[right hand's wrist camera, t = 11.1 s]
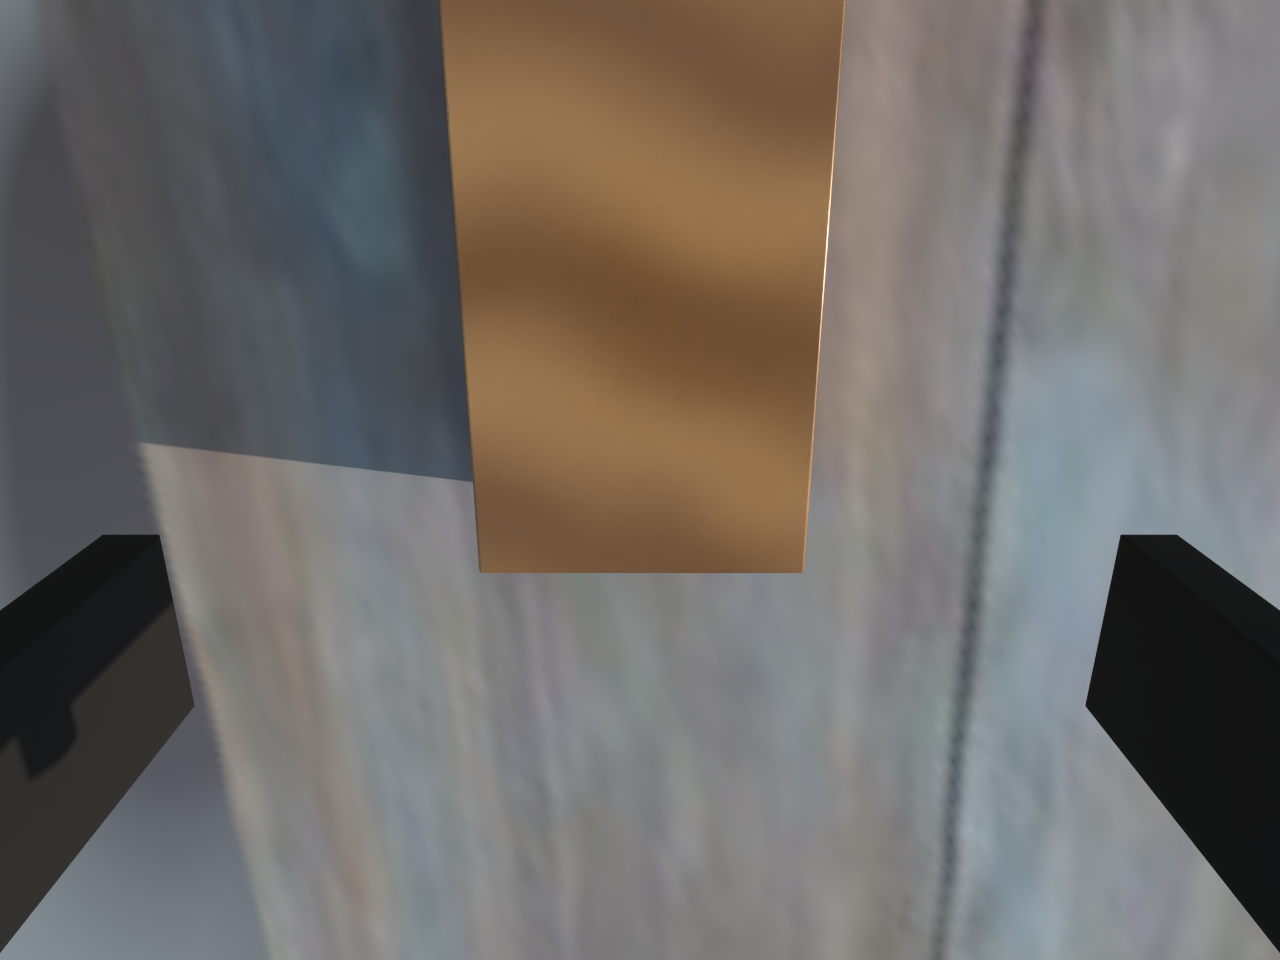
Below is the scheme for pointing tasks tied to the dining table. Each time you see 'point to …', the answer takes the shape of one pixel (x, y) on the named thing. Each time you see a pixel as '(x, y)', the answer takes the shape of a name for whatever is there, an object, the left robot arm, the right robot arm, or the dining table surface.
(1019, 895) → the dining table surface
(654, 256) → the wide beam
